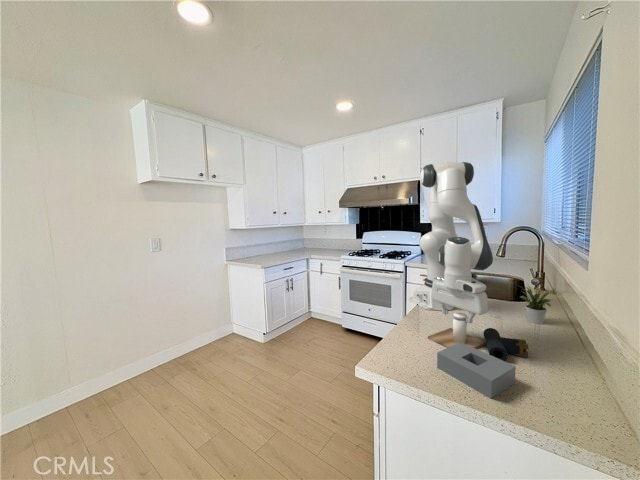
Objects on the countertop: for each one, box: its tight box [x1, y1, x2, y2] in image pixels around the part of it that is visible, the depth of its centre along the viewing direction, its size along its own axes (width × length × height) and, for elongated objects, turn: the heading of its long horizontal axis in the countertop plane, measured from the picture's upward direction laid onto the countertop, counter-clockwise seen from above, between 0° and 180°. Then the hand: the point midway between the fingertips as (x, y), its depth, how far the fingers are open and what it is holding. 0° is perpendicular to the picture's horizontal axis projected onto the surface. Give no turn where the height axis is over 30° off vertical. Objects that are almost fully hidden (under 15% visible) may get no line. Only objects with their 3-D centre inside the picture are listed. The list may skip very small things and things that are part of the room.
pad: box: [427, 327, 487, 349], centre depth 96 cm, size 14×14×1 cm
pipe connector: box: [483, 327, 530, 362], centre depth 88 cm, size 12×5×15 cm
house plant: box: [516, 285, 554, 325], centre depth 110 cm, size 14×14×16 cm
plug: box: [452, 312, 468, 344], centre depth 94 cm, size 4×4×10 cm
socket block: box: [436, 342, 517, 399], centre depth 76 cm, size 16×12×5 cm
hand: (456, 317), depth 95 cm, fingers open, 8 cm apart
